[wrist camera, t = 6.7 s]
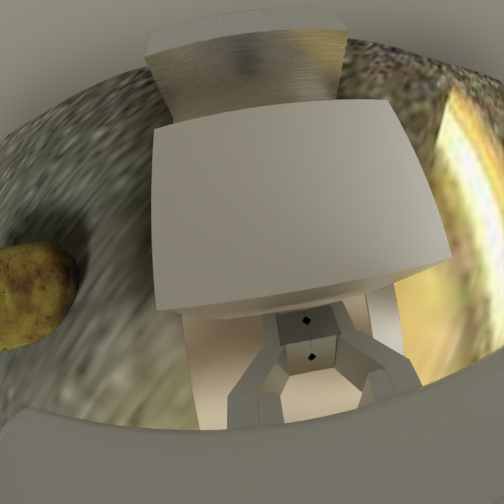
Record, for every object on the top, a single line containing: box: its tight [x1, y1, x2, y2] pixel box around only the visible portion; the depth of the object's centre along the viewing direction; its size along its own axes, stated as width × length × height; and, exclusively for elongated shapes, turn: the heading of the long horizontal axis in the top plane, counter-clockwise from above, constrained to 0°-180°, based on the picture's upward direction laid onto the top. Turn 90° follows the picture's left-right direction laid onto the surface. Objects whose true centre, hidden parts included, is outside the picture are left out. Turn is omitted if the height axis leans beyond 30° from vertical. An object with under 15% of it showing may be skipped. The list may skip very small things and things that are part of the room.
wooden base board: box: [173, 119, 405, 430], centre depth 16 cm, size 21×12×2 cm, turn 8°
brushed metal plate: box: [144, 8, 348, 123], centre depth 14 cm, size 3×10×8 cm, turn 98°
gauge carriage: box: [151, 100, 452, 319], centre depth 11 cm, size 9×10×9 cm
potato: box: [0, 241, 78, 352], centre depth 13 cm, size 8×13×8 cm, turn 96°
